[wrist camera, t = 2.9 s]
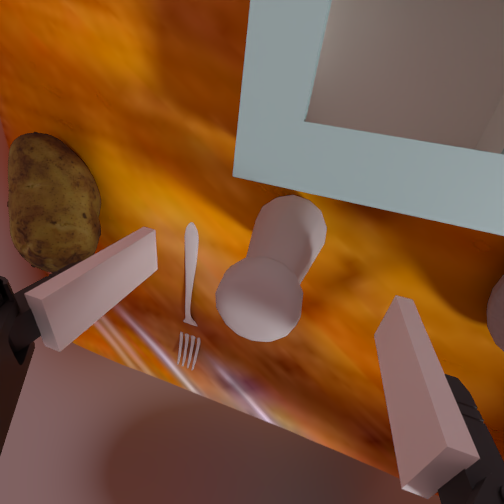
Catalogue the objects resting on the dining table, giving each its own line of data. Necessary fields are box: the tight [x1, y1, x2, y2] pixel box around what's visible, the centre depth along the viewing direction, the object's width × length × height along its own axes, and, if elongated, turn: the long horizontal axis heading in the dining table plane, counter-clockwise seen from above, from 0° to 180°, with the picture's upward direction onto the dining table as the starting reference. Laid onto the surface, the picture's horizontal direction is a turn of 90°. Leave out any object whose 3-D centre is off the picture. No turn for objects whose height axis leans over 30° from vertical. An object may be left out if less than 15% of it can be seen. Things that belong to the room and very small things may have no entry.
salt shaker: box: [216, 195, 327, 342], centre depth 17 cm, size 6×6×13 cm
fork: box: [177, 222, 200, 370], centre depth 30 cm, size 3×24×2 cm, turn 173°
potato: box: [8, 132, 101, 273], centre depth 25 cm, size 8×13×8 cm, turn 173°
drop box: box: [233, 0, 504, 236], centre depth 12 cm, size 14×14×9 cm
